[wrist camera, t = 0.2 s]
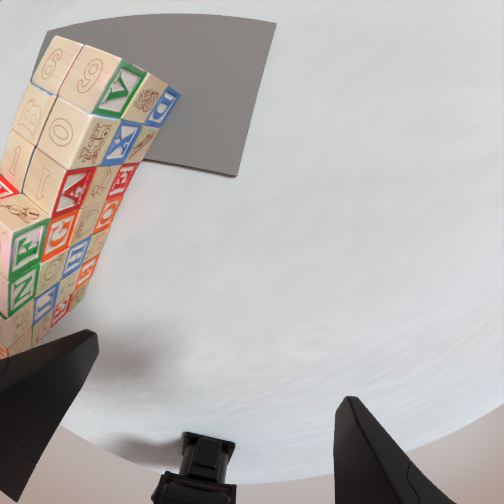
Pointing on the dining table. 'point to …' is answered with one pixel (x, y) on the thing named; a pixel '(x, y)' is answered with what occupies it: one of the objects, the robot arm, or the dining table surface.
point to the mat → (190, 77)
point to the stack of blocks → (68, 179)
